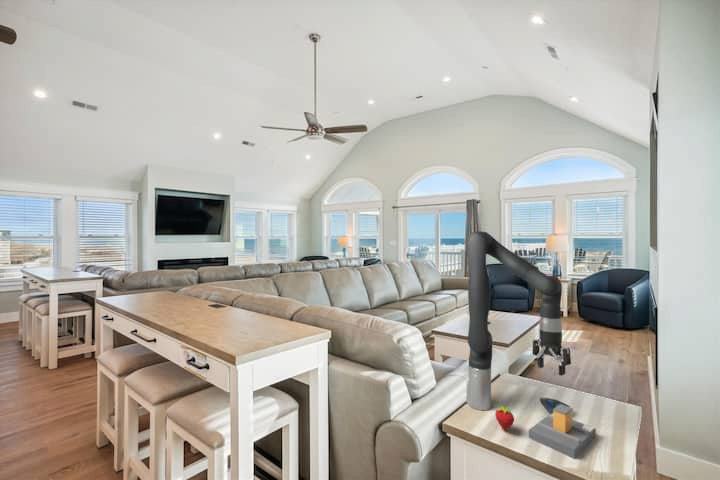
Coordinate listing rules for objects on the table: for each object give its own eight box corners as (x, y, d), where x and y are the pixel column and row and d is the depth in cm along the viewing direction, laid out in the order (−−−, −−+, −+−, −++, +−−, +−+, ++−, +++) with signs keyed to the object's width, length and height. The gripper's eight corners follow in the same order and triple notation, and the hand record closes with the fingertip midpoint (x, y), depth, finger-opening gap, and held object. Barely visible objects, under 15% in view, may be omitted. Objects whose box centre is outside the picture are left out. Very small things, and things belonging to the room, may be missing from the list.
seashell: (576, 411, 141) (560, 389, 150) (555, 415, 140) (540, 393, 149) (571, 420, 145) (556, 397, 153) (550, 424, 144) (536, 401, 152)
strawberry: (504, 437, 128) (505, 410, 128) (491, 426, 136) (491, 400, 135) (518, 434, 130) (518, 408, 130) (504, 424, 137) (504, 398, 137)
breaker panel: (528, 437, 128) (528, 427, 128) (552, 419, 141) (552, 410, 141) (574, 458, 116) (574, 447, 116) (595, 436, 129) (595, 426, 129)
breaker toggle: (552, 428, 128) (553, 409, 128) (559, 423, 132) (560, 403, 132) (565, 433, 125) (565, 413, 125) (572, 427, 129) (572, 408, 129)
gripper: (527, 325, 139) (528, 366, 139) (561, 334, 126) (562, 379, 126) (540, 323, 142) (541, 363, 142) (575, 331, 129) (575, 376, 129)
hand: (551, 371), depth 134 cm, fingers open, 8 cm apart
